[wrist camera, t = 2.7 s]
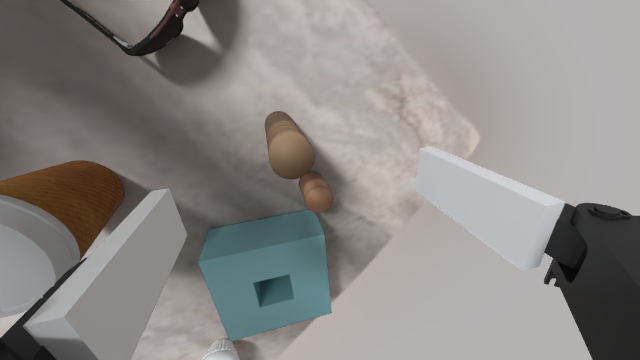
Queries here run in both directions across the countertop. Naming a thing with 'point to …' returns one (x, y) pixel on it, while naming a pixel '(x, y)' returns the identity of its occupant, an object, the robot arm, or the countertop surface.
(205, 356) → the white ribbed jar
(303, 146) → the tall pin
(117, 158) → the countertop surface
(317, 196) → the short pin
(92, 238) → the disposable coffee cup
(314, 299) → the hole block
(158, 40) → the sunglasses
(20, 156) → the countertop surface
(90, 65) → the countertop surface
